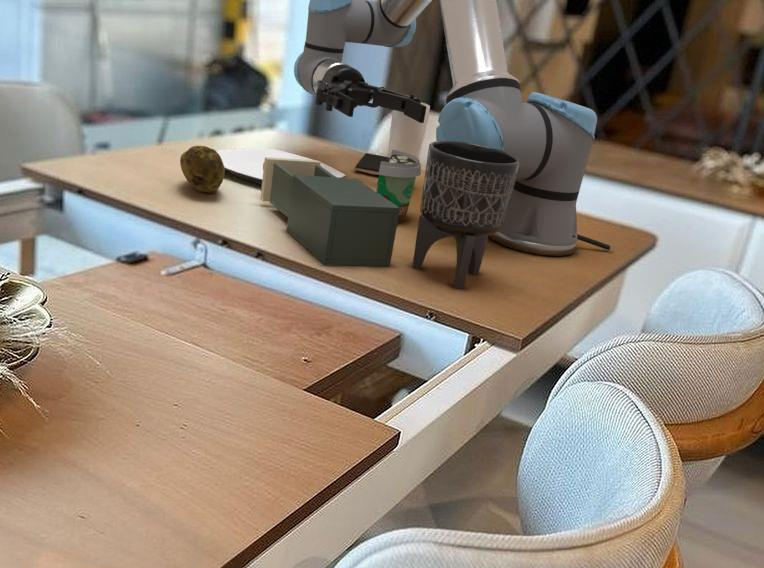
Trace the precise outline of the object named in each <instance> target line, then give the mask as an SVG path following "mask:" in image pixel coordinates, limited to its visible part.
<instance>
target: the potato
mask: <svg viewBox="0 0 764 568" xmlns="http://www.w3.org/2000/svg"><path fill="white" fill-rule="evenodd" d="M216 151H217V150H216V149H213V148H210V147H209V146H205V145H193V146H191V147H190V148H188V149H187V150H186V151H184V152H183V153H182V154H181V155H180V157H179V158H180V159H179V163H180V164H179V165H180V170H181V172H182V174H183V176H184V179H185V180H186V181H187V182H188V183H189V184H190V185H191V186H192V187H193V188H194V189H195V190H197V191H199V192H201V193H202V192H203V193H214V192H216V191H218V190H219V188H220V187H221V185H222V183H223V181H224V179H225V174H226V173H225V172H226V170H225V169H224V164H223V162H222V159H221V157H220V155H219V154H218V153H217V152H216Z"/></svg>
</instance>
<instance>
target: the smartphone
mask: <svg viewBox="0 0 764 568" xmlns="http://www.w3.org/2000/svg"><path fill="white" fill-rule="evenodd" d="M387 158H388V156H385V155H381V154H380V155H379V154H374V153H370V152H369V153H368V152H365V153H364V155H363V156H362V157H361V159H360V160H359V161H358V162H357V164H356V165H355V166H354V170H356V171H359V172H362V173H365V174H369V175H373V176H379V175H378V174H379V169H380V164H381V161H384V162H385V161H386V160H387Z"/></svg>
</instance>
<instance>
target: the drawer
mask: <svg viewBox="0 0 764 568" xmlns="http://www.w3.org/2000/svg"><path fill="white" fill-rule="evenodd" d="M321 163H322V162H321V161H320V160H315V159H312V160H302V159H287V158H271V157H265V161H264V163H263V180H262V184H261V189H260V190H261V191H260V201H262V202H269V203H270V204H271V205H272V206H274V208H276V209H277V210H278V211H279V212H280V213H282V214H283V215H284V216H285V217H286V218H288V214H289V206H290V198H291V190H292V181H293V175H305V176H322V177H335V176H334V175H333V174H331V173H330V172H328V171H327V170H325V169H324V168H323V167H321V166H320V164H321Z"/></svg>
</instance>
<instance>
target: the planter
mask: <svg viewBox="0 0 764 568" xmlns="http://www.w3.org/2000/svg"><path fill="white" fill-rule="evenodd" d="M427 150H428V151H427V156H426V164H425V172H424V179H423V186H422V192H421V193H422V194H421V199H420V200H421V201H420V207H419V213H420V214H419V217H418V223H417V233H416V236H415V237H416V239H415V245H414V253H413V259H412V268H414V269H418V270H420V269H421V268H422V267H423V264H424V261H425V258H426V256H427V254H428V252H429V251H430V249H431V247H432V246H433V245H434V244H435V243H436V242H438V241H440V240H442V239H445V238H454V241H455V245H456V261H455V271H454V278H453V284H452V286H453V287H454V289H460V290H464V289H465V285H466V282H467V281H466V280H467V276H468V273H470V274H472V275H478V274H480V270H481V265H482V263H483V258H484V254H485V250H486V246H487V242H488V238H489V236H488V235H490V234H494V233H497V232H498V231H500V229H501V228H502V226H503V224H504V221H505V217H506V213H507V210H508V206H509V202H510V199H511V195H512V192H513V188H514V184H515V181H516V177H517V174H518V170H519V166H520V160H519V158H517V157H516V156H514V155H512V154H510V153H508V152H505V151H502V150H499V149H495V148H491V147H487V146H483V145H478V144H473V143H466V142H458V141H436V140H435V141H432V142H430V143H429V145H428V149H427Z"/></svg>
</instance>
